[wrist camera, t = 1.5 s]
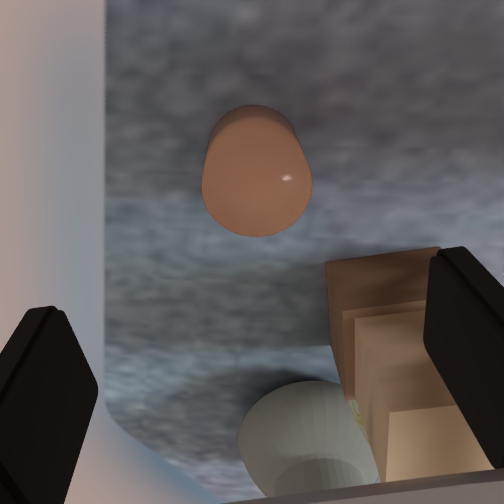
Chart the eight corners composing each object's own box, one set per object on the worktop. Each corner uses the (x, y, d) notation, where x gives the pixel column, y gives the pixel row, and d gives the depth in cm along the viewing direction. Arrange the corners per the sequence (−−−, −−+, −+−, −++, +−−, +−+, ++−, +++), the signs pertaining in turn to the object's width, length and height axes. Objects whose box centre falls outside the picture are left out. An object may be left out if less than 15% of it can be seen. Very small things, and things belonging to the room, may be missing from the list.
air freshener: (379, 431, 35) (426, 571, 27) (289, 463, 37) (305, 604, 29) (325, 345, 30) (361, 483, 22) (224, 387, 32) (220, 530, 24)
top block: (469, 304, 23) (537, 395, 18) (455, 383, 26) (511, 481, 21) (354, 318, 23) (389, 412, 18) (355, 395, 26) (384, 494, 21)
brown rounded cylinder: (294, 98, 22) (308, 125, 17) (301, 187, 24) (315, 229, 20) (199, 112, 22) (191, 142, 18) (216, 198, 24) (212, 243, 20)
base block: (438, 245, 27) (477, 293, 22) (430, 330, 30) (462, 386, 26) (325, 260, 27) (342, 311, 23) (330, 343, 30) (345, 400, 26)
